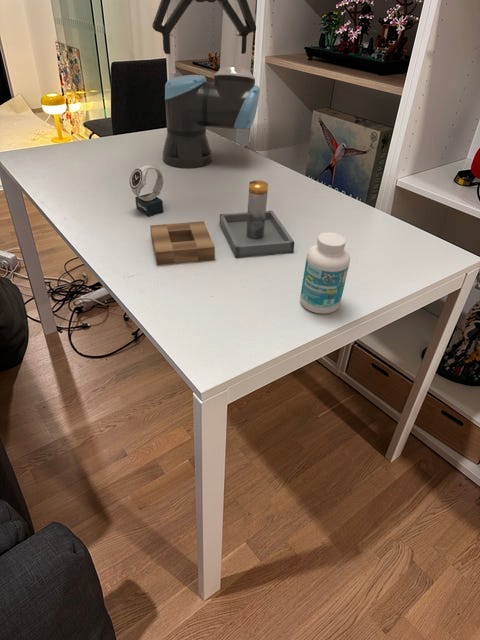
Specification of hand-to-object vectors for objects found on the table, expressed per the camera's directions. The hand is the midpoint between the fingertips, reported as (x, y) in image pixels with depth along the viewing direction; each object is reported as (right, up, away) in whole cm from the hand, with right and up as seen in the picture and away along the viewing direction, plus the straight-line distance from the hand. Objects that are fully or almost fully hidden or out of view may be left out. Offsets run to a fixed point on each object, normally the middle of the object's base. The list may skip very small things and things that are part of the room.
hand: (205, 72), depth 95 cm
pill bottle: (+22, -48, -9) cm, 54 cm away
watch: (-15, -24, +19) cm, 34 cm away
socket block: (-5, -36, +5) cm, 36 cm away
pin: (+11, -32, +10) cm, 35 cm away
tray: (+11, -32, +10) cm, 36 cm away
